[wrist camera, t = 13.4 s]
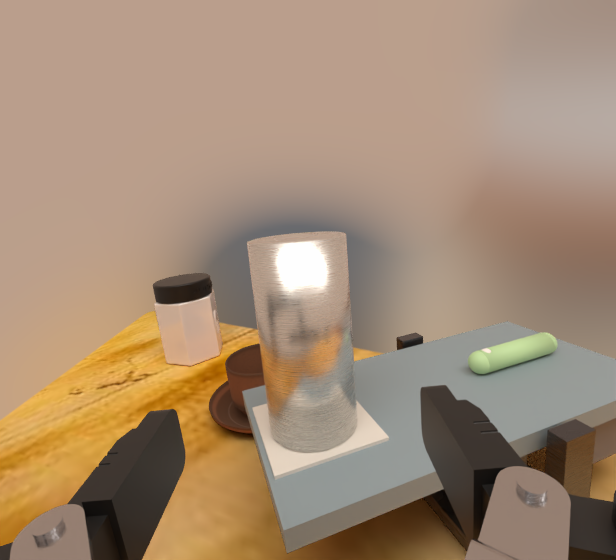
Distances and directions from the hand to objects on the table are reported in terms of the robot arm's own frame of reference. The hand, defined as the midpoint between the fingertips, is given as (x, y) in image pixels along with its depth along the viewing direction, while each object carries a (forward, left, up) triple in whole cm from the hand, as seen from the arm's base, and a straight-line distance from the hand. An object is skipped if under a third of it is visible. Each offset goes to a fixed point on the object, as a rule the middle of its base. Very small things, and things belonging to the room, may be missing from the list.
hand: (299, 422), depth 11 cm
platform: (-2, +14, -11) cm, 18 cm away
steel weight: (-6, +6, -6) cm, 10 cm away
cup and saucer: (-22, +13, -15) cm, 29 cm away
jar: (-42, +14, -15) cm, 47 cm away
